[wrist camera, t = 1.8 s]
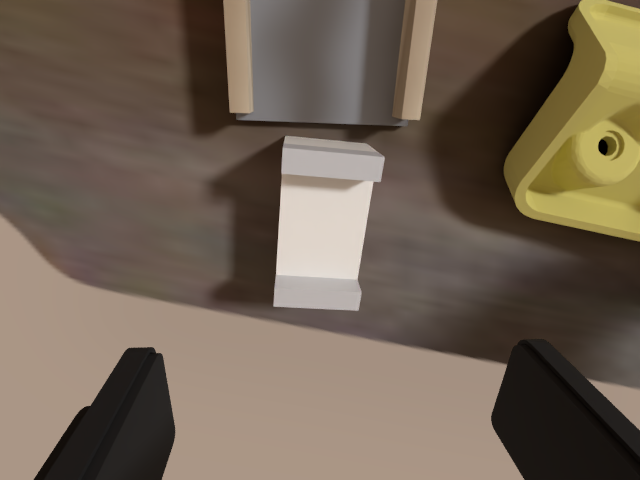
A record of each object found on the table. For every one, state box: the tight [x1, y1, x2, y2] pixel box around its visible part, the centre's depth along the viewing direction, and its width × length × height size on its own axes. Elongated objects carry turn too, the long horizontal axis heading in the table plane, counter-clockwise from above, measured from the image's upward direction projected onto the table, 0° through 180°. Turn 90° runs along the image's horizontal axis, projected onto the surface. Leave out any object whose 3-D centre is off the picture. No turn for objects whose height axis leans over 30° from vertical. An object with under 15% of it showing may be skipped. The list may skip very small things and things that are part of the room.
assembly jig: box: [223, 0, 437, 126], centre depth 17 cm, size 10×11×3 cm
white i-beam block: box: [273, 136, 385, 311], centre depth 21 cm, size 5×9×5 cm, turn 174°
